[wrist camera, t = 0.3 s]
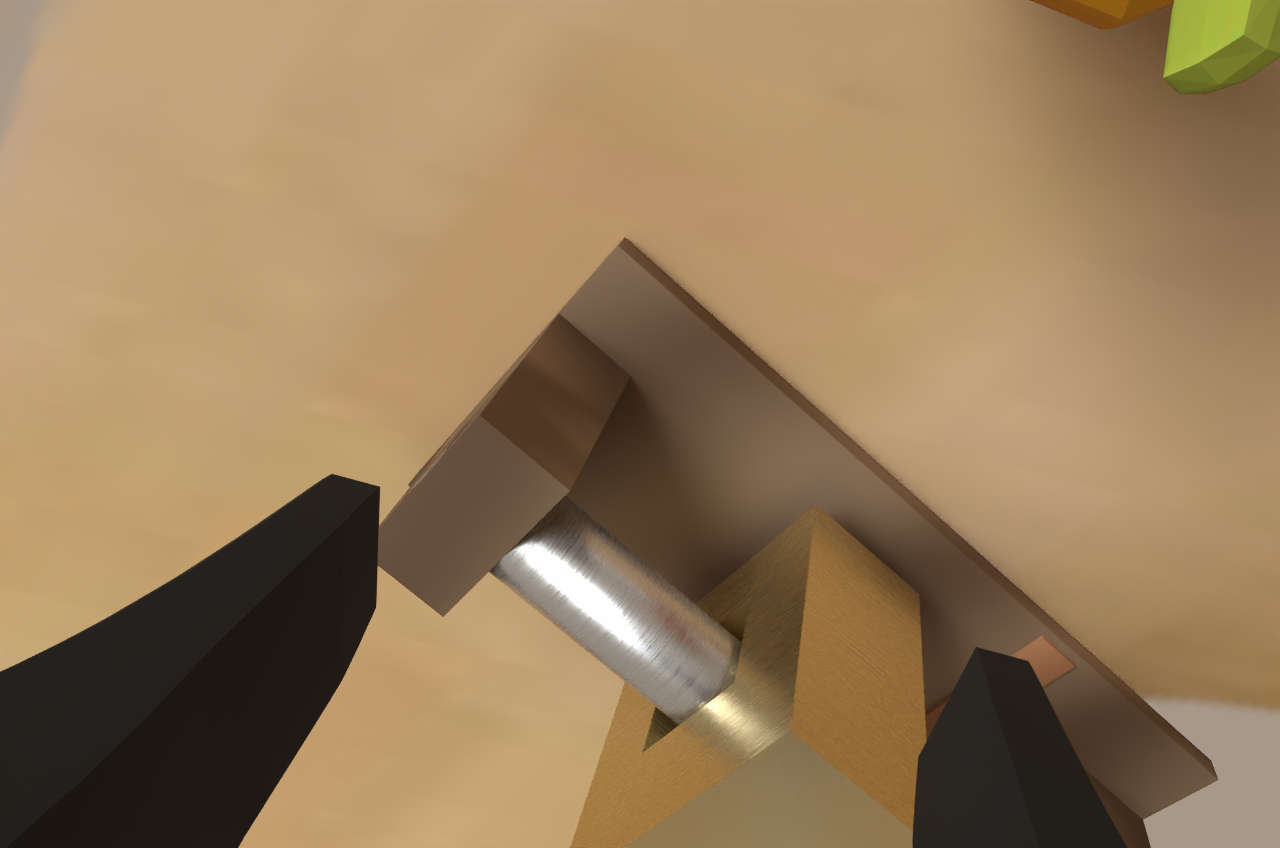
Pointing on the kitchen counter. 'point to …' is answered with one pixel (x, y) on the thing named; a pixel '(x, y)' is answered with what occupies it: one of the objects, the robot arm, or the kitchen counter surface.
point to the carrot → (1197, 36)
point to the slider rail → (741, 507)
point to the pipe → (620, 610)
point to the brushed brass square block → (781, 715)
